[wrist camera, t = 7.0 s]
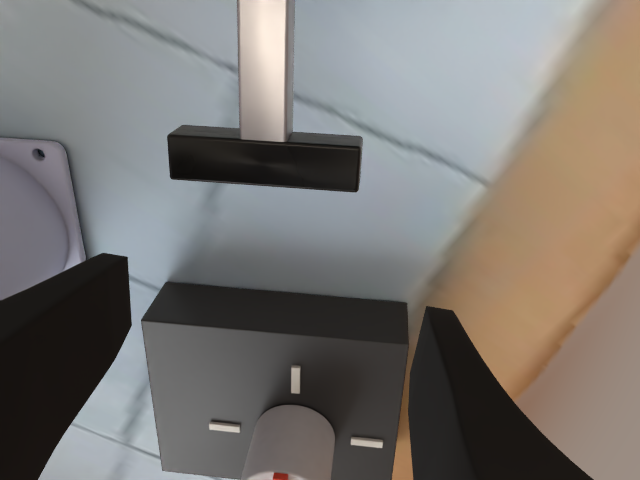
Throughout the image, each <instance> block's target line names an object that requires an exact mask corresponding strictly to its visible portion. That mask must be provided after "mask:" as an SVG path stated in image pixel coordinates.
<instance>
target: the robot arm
mask: <svg viewBox="0 0 640 480" xmlns="http://www.w3.org/2000/svg"><path fill="white" fill-rule="evenodd" d="M38 149H41V150H42V151H43V152H44V154H45V158H44V157H42V156H40V155H39V153H38ZM131 326H132V324H131V307H130V290H129V274H128V257H125V256H119V255H113V254H106V253H102V254H99V255H97V256H94V257H92V258H90V259H88V260H86V256H85V251H84V246H83V240H82V235H81V229H80V224H79V219H78V213H77V208H76V202H75V197H74V192H73V186H72V181H71V176H70V170H69V165H68V159H67V154H66V151H65V149H64V148H63V146H62V145H61V144H59V143H58V142H54V141H45V140H30V139H15V138H0V480H38V478H39V477H40V475H41V473H42V471H43V469H44V467H45V465H46V464H47V462H48V460H49V458H50V456H51V454H52V453H53V451H54V449H55V447H56V446H57V444H58V443H59V441H60V439H61V438H62V436H63V435H64V433H65V432H66V430H67V429H68V427H69V426H70V424H71V423H72V422H73V420H74V419H75V417H76V416H77V414H78V413H79V411H80V410H81V408H82V407H83V406H84V404H85V403H86V401H87V400H88V398H89V397H90V395H91V394H92V393H93V391H94V390H95V388H96V387H97V385H98V384H99V382H100V381H101V379H102V378H103V377H104V375H105V374H106V372H107V371H108V369H109V368H110V366H111V365H112V363H113V362H114V360H115V358H116V356H117V354H118V352H119V350H120V348H121V347H122V345H123V342H124V340H125V338H126V336H127V334H128V332H129V330H130V328H131ZM408 415H409V429H410V442H411V455H412V467H413V480H593V479H592V478H591V477H590V476H588V475H587V474H586V473H585V472H584V471H582V470H581V469H580V468H579V467H578V466H577V465H575V464H574V463H573V462H572V461H571V460H570V459H569V458H568V457H566V456H565V455H564V454H563V453H562V452H561V451H560V450H559V449H558V448H557V447H556V446H555V445H553V444H552V443H551V442H550V441H549V440H548V439H547V438H546V437H545V436H544V435H543V434H542V433H541V432H540V431H539V430H538V428H537V427H536V426H535V425H534V424H533V423H532V422H531V421H530V420H529V419H528V418H527V417H526V415H524V413H523V412H522V411H521V410H520V409H519V408H518V406H517V405H516V404H515V403H514V402H513V400H512V399H511V398H510V397H509V395H508V394H507V393H506V392H505V390H504V389H503V388H502V386H501V385H500V384H499V382H498V381H497V380H496V378H495V377H494V375H493V374H492V372H491V371H490V369H489V368H488V366H487V365H486V364H485V362H484V361H483V359H482V358H481V356H480V355H479V353H478V351H477V350H476V348H475V347H474V345H473V343H472V342H471V340H470V338H469V337H468V335H467V333H466V332H465V330H464V328H463V327H462V325H461V323H460V321H459V320H458V318H457V316H456V315H455V313H454V312H453V310H447V309H441V308H435V307H429V306H426V310H425V314H424V318H423V322H422V326H421V330H420V334H419V338H418V342H417V347H416V351H415V355H414V359H413V363H412V367H411V371H410V383H409V405H408Z"/></svg>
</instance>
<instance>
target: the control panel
mask: <svg viewBox="0 0 640 480" xmlns="http://www.w3.org/2000/svg"><path fill="white" fill-rule="evenodd" d="M141 323H142V330H143V337H144V344H145V351H146V358H147V365H148V372H149V380H150V387H151V394H152V401H153V408H154V415H155V422H156V429H157V436H158V443H159V450H160V457H161V464H162V470H163V471H168V472H177V473H186V474H194V475H203V476H212V477H221V478H229V479H238V480H241V477H242V473H243V470H244V466H245V462H246V459H247V455H248V452H249V448H250V444H251V441H252V437H253V434H254V430H255V426H256V423H257V421H258V419H259V418H260V417H261V416H262V415H263V414H264V413H265V412H266V411H268V410H270V409H272V408H274V407H277V406H281V405H299V406H304V407H307V408H310V409H312V410H314V411H316V412H318V413H319V414H321V415H322V416H323V417H325V418H326V419H327V421H328V422H329V423H330V425H331V426H332V428H333V431H334V434H335V445H334V454H333V463H332V472H331V480H392V472H393V465H394V457H395V449H396V441H397V434H398V426H399V418H400V410H401V402H402V395H403V387H404V379H405V371H406V364H407V356H408V348H409V336H408V311H407V303H402V302H390V301H379V300H367V299H356V298H344V297H332V296H321V295H309V294H298V293H286V292H275V291H263V290H251V289H240V288H228V287H217V286H205V285H194V284H182V283H170V282H166V283H165V284H164V286H163V287H162V289H161V290H160V292H159V293H158V295H157V296H156V298H155V299H154V301H153V303H152V304H151V306H150V307H149V309H148V310H147V312H146V313H145V315H144V316H143V318H142V319H141Z"/></svg>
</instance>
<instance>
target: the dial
mask: <svg viewBox="0 0 640 480" xmlns="http://www.w3.org/2000/svg"><path fill="white" fill-rule="evenodd" d="M334 445H335V434H334V431H333V428H332V426H331V425H330V423H329V422H328V421H327V419H326V418H325V417H323V416H322V415H321V414H319V413H318V412H316V411H314V410H312V409H310V408H307V407H304V406H299V405H281V406H277V407H274V408H272V409H270V410H268V411H266V412H265V413H264V414H263V415H262V416H261V417H260V418H259V419H258V421H257V423H256V426H255V430H254V434H253V437H252V441H251V444H250V448H249V452H248V455H247V459H246V462H245V466H244V470H243V473H242V477H241V480H331V472H332V463H333V454H334Z"/></svg>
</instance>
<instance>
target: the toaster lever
mask: <svg viewBox="0 0 640 480" xmlns="http://www.w3.org/2000/svg"><path fill="white" fill-rule="evenodd" d="M237 26H238V77H239V128H224V127H208V126H192V125H182V126H180V127H179V128H177V129H176V130H174V131H173V132H171V133H170V134H169V135H168V136H167V141H168V154H169V168H170V178H171V179H174V180H188V181H202V182H216V183H230V184H244V185H258V186H272V187H286V188H300V189H314V190H328V191H342V192H357V191H358V189H359V183H360V174H361V160H362V145H363V138H362V137H361V136H351V135H335V134H319V133H303V132H293V85H294V30H295V0H237Z"/></svg>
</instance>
